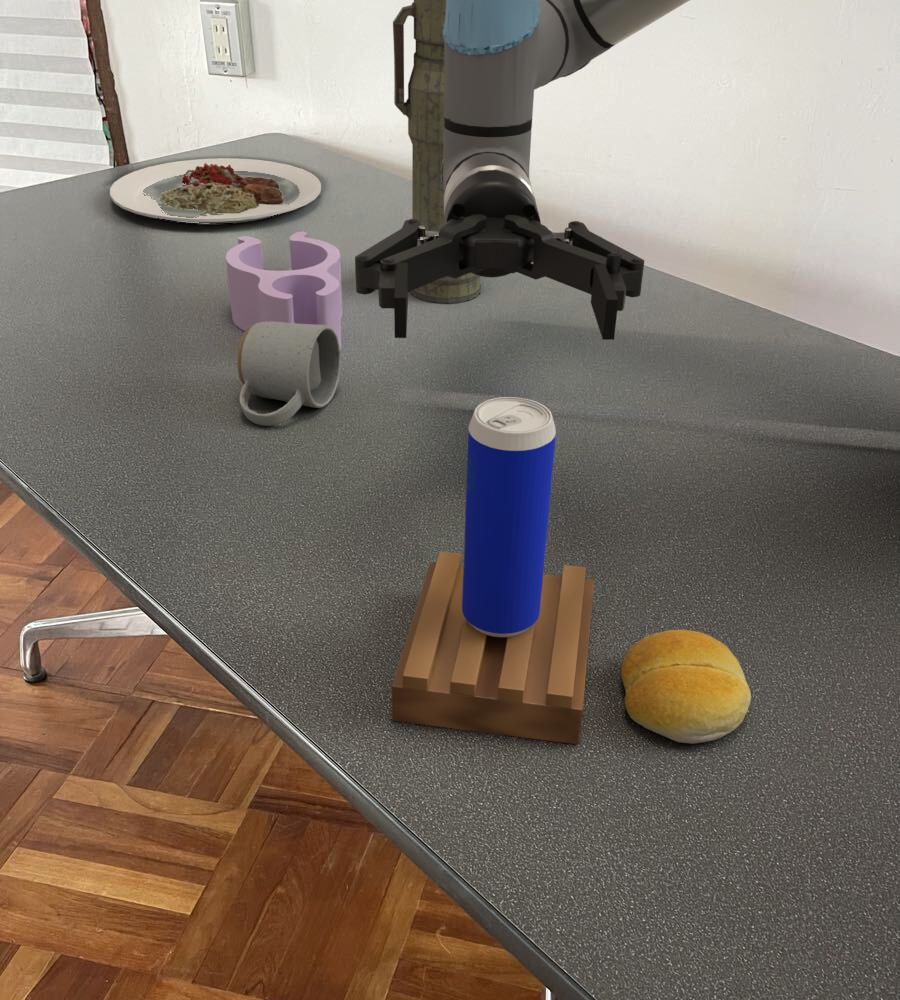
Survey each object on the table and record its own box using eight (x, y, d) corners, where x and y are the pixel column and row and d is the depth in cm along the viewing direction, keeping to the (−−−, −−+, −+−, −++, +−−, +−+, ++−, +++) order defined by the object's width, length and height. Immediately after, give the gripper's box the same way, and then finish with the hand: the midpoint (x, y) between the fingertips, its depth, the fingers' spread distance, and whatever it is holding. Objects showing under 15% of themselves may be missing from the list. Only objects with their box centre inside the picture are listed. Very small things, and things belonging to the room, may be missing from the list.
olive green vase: (389, 280, 132) (384, -52, 111) (482, 273, 134) (495, -52, 113) (403, 307, 125) (402, -41, 104) (501, 300, 127) (518, -42, 106)
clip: (367, 354, 114) (365, 291, 110) (250, 367, 111) (243, 302, 107) (327, 287, 129) (325, 229, 125) (223, 296, 126) (217, 237, 122)
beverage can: (502, 585, 75) (515, 386, 65) (555, 620, 71) (575, 418, 62) (445, 613, 72) (450, 410, 63) (497, 651, 69) (510, 444, 60)
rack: (590, 612, 79) (596, 567, 76) (578, 745, 68) (584, 697, 65) (429, 594, 80) (430, 549, 78) (392, 721, 69) (391, 674, 67)
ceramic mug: (269, 375, 109) (262, 302, 105) (344, 387, 108) (340, 314, 103) (220, 422, 101) (211, 346, 97) (300, 436, 100) (294, 360, 95)
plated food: (182, 248, 139) (179, 222, 137) (74, 194, 157) (69, 170, 155) (363, 205, 156) (362, 180, 154) (247, 160, 173) (245, 138, 171)
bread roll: (628, 747, 68) (636, 701, 65) (615, 656, 75) (622, 611, 72) (759, 752, 68) (772, 705, 65) (734, 660, 75) (744, 615, 72)
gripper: (639, 264, 89) (689, 374, 72) (337, 261, 88) (315, 371, 71) (650, 169, 84) (706, 263, 67) (333, 166, 84) (308, 259, 67)
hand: (505, 319), depth 69 cm, fingers open, 13 cm apart
